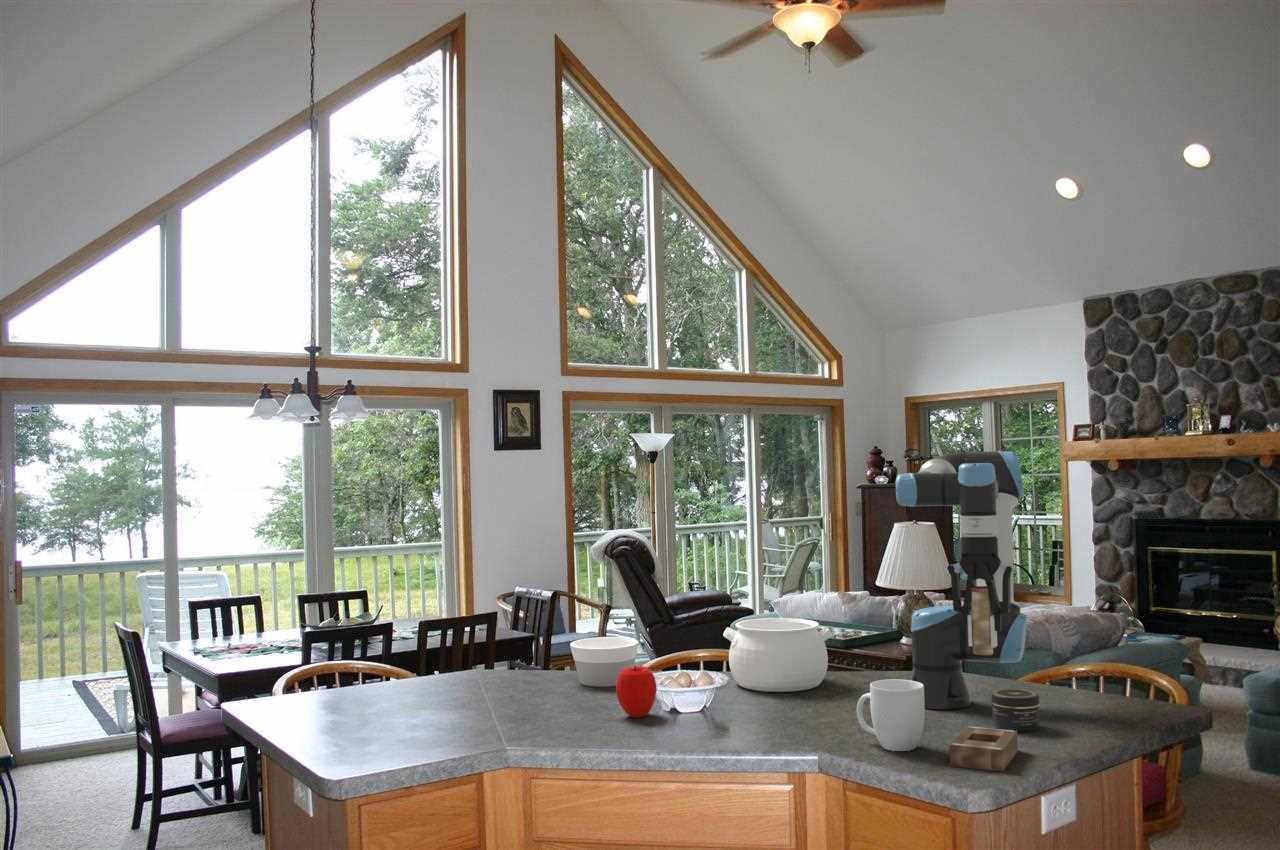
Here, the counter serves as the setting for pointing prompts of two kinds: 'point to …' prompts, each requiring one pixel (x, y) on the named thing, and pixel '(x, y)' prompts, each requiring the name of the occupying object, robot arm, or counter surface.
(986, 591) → the dowel
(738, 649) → the pot
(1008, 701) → the jar
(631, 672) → the apple
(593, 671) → the bowl
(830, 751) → the counter surface
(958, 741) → the socket board
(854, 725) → the counter surface
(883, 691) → the mug
